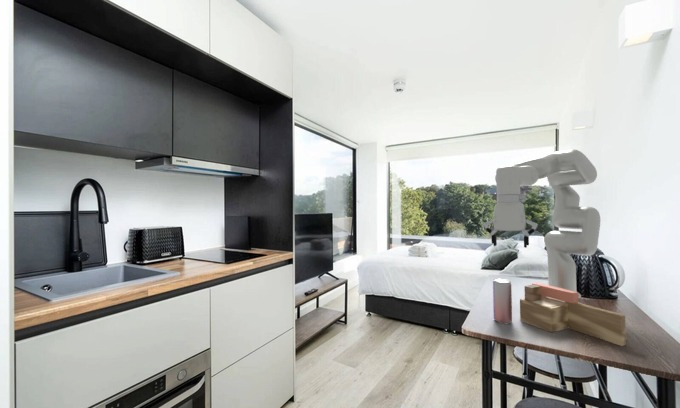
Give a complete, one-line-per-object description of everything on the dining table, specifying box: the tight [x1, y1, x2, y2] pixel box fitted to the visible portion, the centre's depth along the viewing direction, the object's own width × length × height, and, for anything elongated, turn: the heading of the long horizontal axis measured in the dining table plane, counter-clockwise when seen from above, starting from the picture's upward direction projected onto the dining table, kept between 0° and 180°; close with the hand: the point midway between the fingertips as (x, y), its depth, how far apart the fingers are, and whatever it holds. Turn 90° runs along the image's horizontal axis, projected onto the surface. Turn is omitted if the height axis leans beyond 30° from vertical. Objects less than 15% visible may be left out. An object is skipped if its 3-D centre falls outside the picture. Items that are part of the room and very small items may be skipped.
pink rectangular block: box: [531, 282, 580, 304], centre depth 105 cm, size 3×14×4 cm, turn 23°
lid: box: [524, 284, 565, 307], centre depth 104 cm, size 11×9×6 cm
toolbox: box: [519, 295, 627, 347], centre depth 98 cm, size 13×26×12 cm, turn 23°
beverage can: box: [492, 278, 513, 325], centre depth 107 cm, size 6×6×15 cm
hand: (509, 246), depth 105 cm, fingers open, 9 cm apart
